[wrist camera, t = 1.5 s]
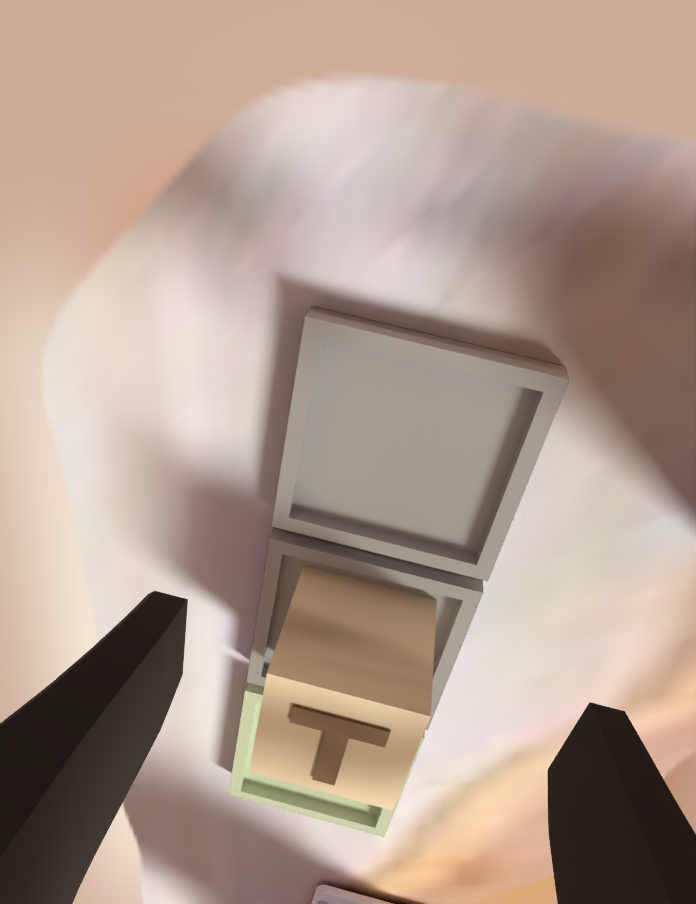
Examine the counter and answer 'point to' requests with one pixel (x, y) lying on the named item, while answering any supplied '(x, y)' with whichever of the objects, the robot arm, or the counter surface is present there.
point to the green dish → (296, 795)
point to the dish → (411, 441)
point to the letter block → (347, 689)
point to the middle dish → (300, 550)
